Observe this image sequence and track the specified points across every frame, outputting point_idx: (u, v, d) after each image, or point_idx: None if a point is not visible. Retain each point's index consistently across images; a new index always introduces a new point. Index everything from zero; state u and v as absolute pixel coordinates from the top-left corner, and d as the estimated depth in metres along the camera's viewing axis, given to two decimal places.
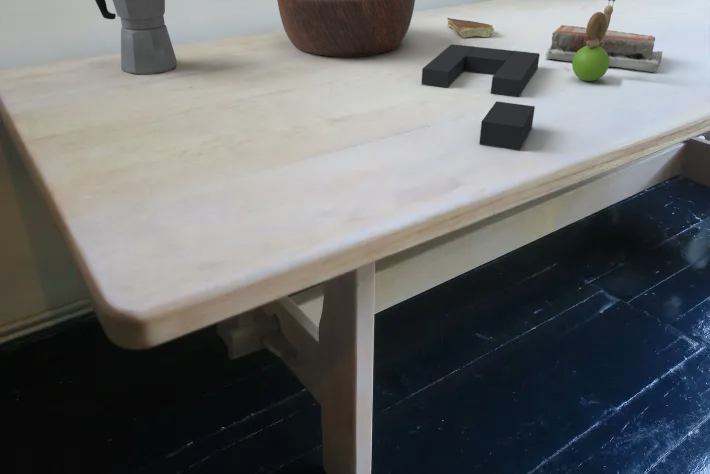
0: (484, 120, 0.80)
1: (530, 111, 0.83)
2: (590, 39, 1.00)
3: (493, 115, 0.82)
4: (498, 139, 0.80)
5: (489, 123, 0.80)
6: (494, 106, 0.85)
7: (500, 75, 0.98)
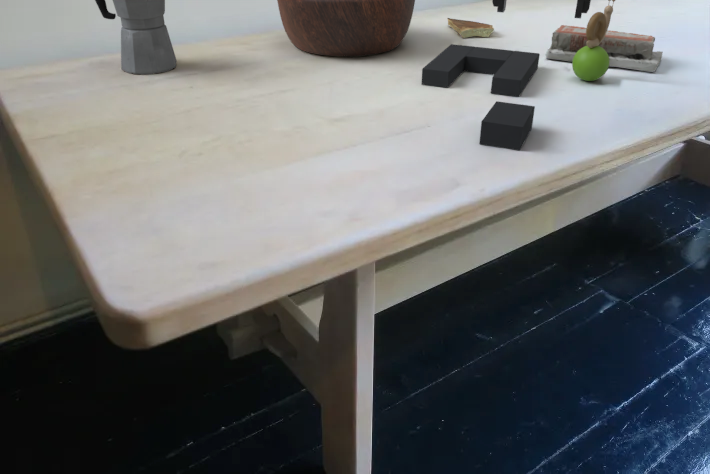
0: (484, 120, 0.80)
1: (530, 111, 0.83)
2: (590, 39, 1.00)
3: (493, 115, 0.82)
4: (498, 139, 0.80)
5: (489, 123, 0.80)
6: (494, 106, 0.85)
7: (500, 75, 0.98)
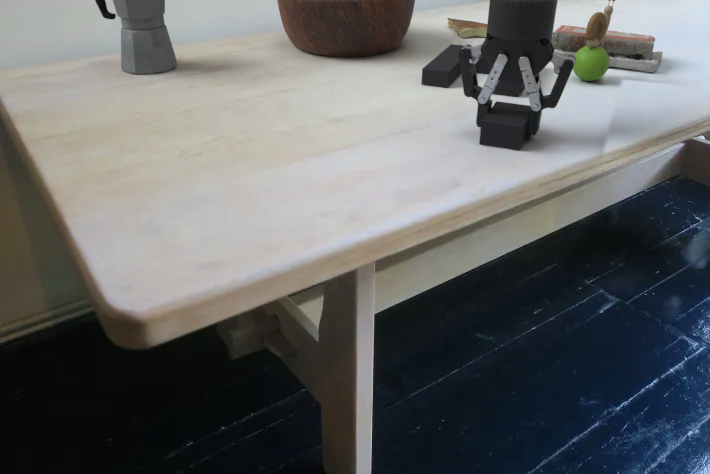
0: (484, 120, 0.80)
1: None
2: (590, 39, 1.00)
3: (493, 115, 0.82)
4: (498, 139, 0.80)
5: (489, 123, 0.80)
6: (494, 106, 0.85)
7: None
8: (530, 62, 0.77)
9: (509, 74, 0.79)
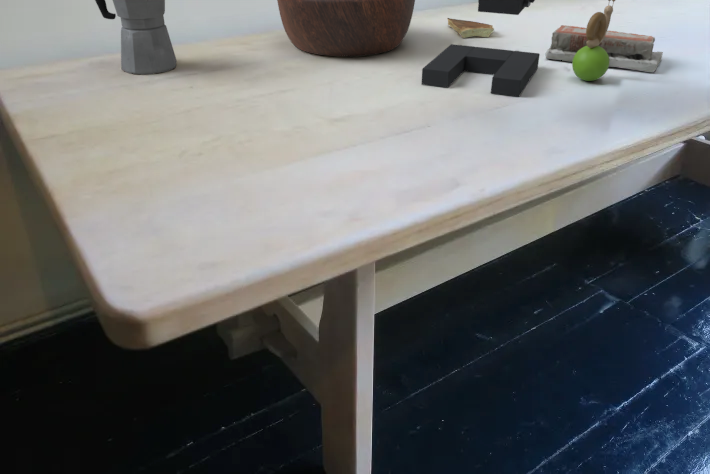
0: None
1: None
2: (590, 39, 1.00)
3: None
4: (497, 4, 0.81)
5: None
6: None
7: (500, 75, 0.98)
8: None
9: None
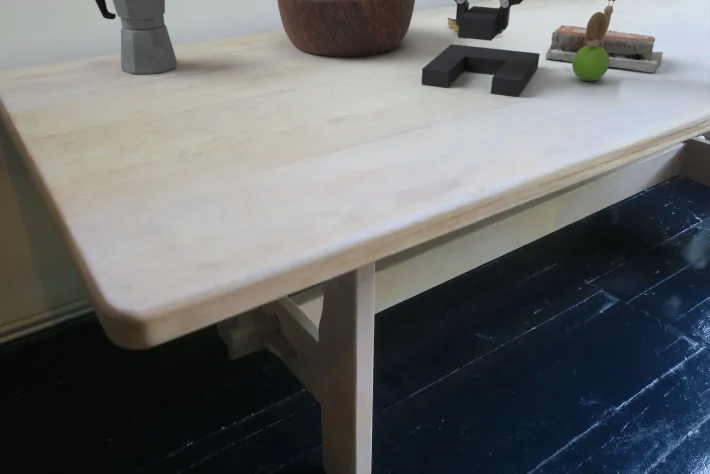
0: (461, 15, 0.96)
1: None
2: (590, 39, 1.00)
3: (470, 13, 0.98)
4: (473, 32, 0.96)
5: (466, 18, 0.96)
6: (471, 8, 1.00)
7: (500, 75, 0.98)
8: None
9: None
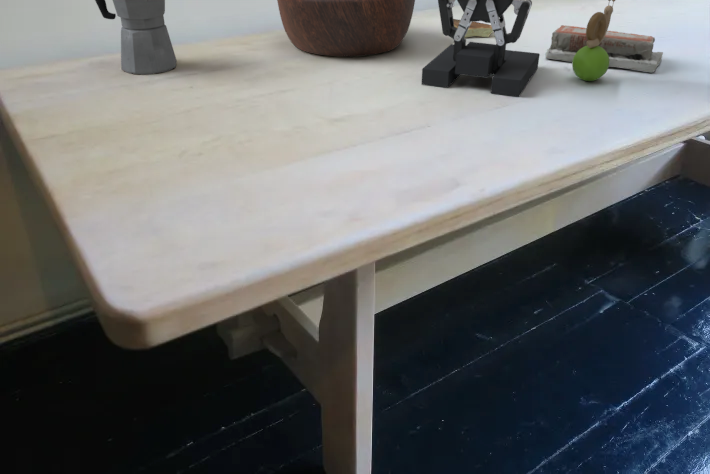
0: (458, 53, 0.99)
1: None
2: (590, 39, 1.00)
3: (466, 50, 1.00)
4: (470, 69, 0.99)
5: (463, 56, 0.98)
6: (468, 45, 1.03)
7: (500, 75, 0.98)
8: (495, 4, 0.96)
9: (478, 15, 0.98)
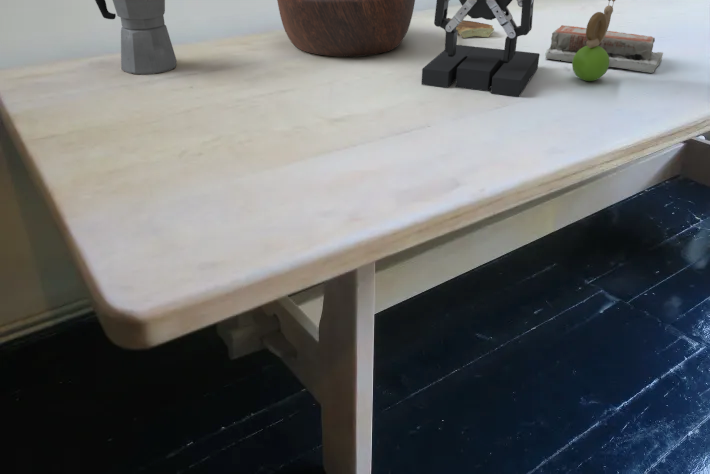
0: (459, 67, 1.00)
1: (496, 61, 1.03)
2: (590, 39, 1.00)
3: (467, 63, 1.01)
4: (470, 82, 1.00)
5: (463, 69, 0.99)
6: (468, 58, 1.04)
7: (500, 75, 0.98)
8: None
9: (479, 12, 0.97)
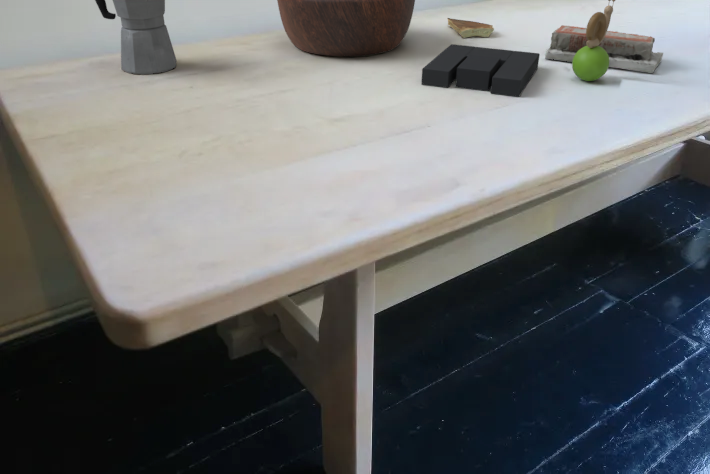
0: (459, 67, 1.00)
1: (496, 61, 1.03)
2: (590, 39, 1.00)
3: (467, 63, 1.01)
4: (470, 82, 1.00)
5: (463, 69, 0.99)
6: (468, 58, 1.04)
7: (500, 75, 0.98)
8: None
9: None
